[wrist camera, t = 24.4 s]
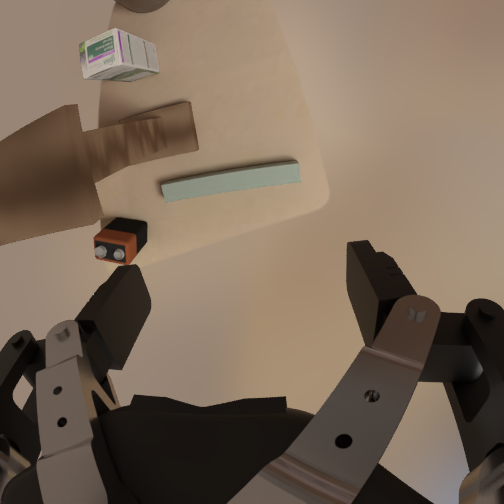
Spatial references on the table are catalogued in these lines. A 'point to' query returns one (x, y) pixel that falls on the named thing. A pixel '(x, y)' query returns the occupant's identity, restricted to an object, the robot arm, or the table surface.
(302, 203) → the table surface
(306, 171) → the table surface
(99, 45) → the syrup box
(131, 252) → the battery
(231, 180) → the peg
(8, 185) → the stand
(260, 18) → the table surface
